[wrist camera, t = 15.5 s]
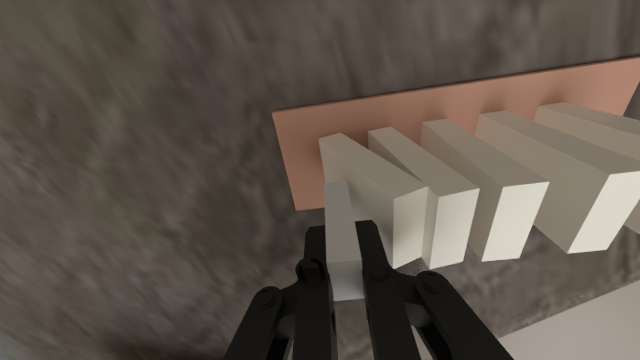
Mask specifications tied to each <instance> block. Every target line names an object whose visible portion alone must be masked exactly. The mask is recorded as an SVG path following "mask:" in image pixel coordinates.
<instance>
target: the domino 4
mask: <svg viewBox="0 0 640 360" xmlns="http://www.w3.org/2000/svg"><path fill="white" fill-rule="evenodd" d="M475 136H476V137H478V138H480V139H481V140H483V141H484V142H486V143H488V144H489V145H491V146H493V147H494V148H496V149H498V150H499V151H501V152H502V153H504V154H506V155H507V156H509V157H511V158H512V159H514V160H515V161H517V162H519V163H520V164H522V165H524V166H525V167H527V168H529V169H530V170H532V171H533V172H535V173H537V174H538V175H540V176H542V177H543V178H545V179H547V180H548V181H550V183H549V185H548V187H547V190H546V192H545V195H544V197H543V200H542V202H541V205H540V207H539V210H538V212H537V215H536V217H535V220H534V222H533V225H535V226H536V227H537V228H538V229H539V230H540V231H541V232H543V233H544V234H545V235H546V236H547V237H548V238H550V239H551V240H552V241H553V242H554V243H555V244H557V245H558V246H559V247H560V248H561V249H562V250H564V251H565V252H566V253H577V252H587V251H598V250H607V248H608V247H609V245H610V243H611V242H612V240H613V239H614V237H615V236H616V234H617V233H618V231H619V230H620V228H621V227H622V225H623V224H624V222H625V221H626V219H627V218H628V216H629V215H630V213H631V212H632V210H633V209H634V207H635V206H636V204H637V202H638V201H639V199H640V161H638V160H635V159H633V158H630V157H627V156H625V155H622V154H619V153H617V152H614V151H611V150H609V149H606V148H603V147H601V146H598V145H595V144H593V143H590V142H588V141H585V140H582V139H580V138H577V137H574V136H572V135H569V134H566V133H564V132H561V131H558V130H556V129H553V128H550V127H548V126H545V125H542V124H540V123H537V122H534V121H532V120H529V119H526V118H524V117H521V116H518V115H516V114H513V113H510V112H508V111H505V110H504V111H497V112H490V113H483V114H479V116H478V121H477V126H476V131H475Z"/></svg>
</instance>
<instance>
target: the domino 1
mask: <svg viewBox="0 0 640 360" xmlns="http://www.w3.org/2000/svg"><path fill="white" fill-rule="evenodd" d="M318 140H319V146H320V152H321V159H322V165H323V171H324V178H325V183H328V182H336V181H343V180H347V185H348V190H349V195H350V201H351V206H352V211H353V216H354V221H363V220H372V221H373V222H374V223H375V224H376V225H377V227H378V230H379V234H380V237H381V240H382V243H383V246H384V250H385V253H386V256H387V259H388V262H389V264H390V266H391V267H392V268H393V269H396V268H398V267H400V266H402V265H404V264H406V263H408V262H411V261H413V260H415V259H417V258H419V257H421V255H422V245H423V235H424V225H425V215H426V206H427V196H428V185H426V184H425V183H423V182H421V181H420V180H418V179H416V178H415V177H413V176H411V175H410V174H408V173H406V172H405V171H403V170H401V169H400V168H398V167H397V166H395V165H393V164H392V163H390V162H388V161H387V160H385V159H383V158H382V157H380V156H378V155H377V154H375V153H373V152H372V151H370V150H368V149H367V148H365V147H364V146H362V145H360V144H359V143H357V142H355V141H354V140H352V139H350V138H349V137H347V136H345V135H344V134H342V133H337V134H333V135H329V136H326V137H322V138H319V139H318Z"/></svg>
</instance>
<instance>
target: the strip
mask: <svg viewBox="0 0 640 360" xmlns="http://www.w3.org/2000/svg"><path fill="white" fill-rule="evenodd" d="M639 81H640V56H636V57H630V58H623V59H616V60H610V61H603V62H596V63H590V64H583V65H576V66H570V67H563V68H556V69H550V70H543V71H537V72H530V73H523V74H517V75H510V76H503V77H497V78H490V79H483V80H477V81H470V82H463V83H457V84H450V85H443V86H437V87H430V88H423V89H417V90H410V91H403V92H397V93H390V94H384V95H377V96H370V97H364V98H357V99H350V100H344V101H337V102H330V103H324V104H317V105H310V106H304V107H297V108H290V109H284V110H277V111H273V112H272V116H273V120H274V124H275V128H276V133H277V137H278V141H279V145H280V149H281V153H282V157H283V161H284V165H285V169H286V173H287V177H288V181H289V185H290V189H291V193H292V197H293V201H294V205H295V209H296V211H299V210H308V209H316V208H325V195H324V183H325V178H324V171H323V165H322V159H321V152H320V146H319V140H318V139H319V138H322V137H326V136H329V135H333V134H337V133H342V134H344V135H345V136H347V137H349V138H350V139H352V140H354V141H355V142H357V143H359V144H360V145H362V146H364V147H365V148H367V149H368V131H370V130H375V129H380V128H385V127H390V126H391V127H393V128H394V129H395V130H397V131H398V132H400V133H401V134H403V135H404V136H406V137H407V138H408V139H410V140H411V141H413V142H414V143H416V144H417V145H419V146H420V139H421V126H422V122H425V121H433V120H440V119H449V120H450V121H452V122H453V123H455V124H457V125H458V126H460V127H462V128H463V129H465V130H466V131H468V132H470V133H471V134H473V135H475V131H476V126H477V121H478V116H479V114H483V113H490V112H497V111H504V110H505V111H508V112H510V113H513V114H516V115H518V116H521V117H524V118H526V119H529V120H532V121H533V120H534V116H535V113H536V110H537V107H538V106H540V105H547V104H554V103H561V102H567V103H571V104H575V105H579V106H583V107H587V108H591V109H595V110H599V111H603V112H607V113H611V114H615V115H619V116H622V115H623V113H624V111H625V109H626V107H627V105H628V103H629V101H630V99H631V97H632V95H633V93H634V91H635V89H636V87H637V85H638V83H639Z"/></svg>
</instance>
